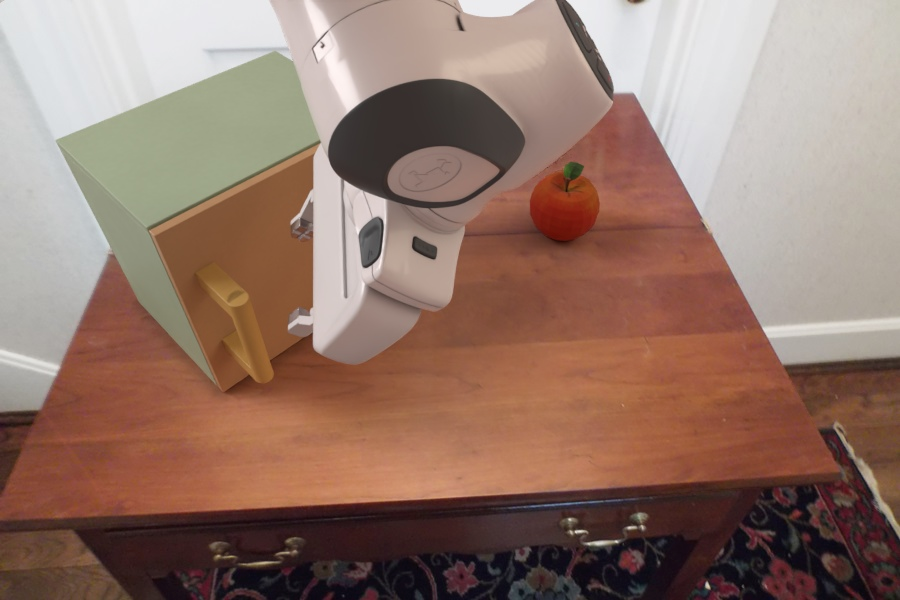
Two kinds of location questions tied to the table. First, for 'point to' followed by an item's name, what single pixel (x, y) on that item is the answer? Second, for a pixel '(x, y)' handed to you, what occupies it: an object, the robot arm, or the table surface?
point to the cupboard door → (243, 269)
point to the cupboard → (185, 167)
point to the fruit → (564, 204)
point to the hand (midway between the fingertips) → (296, 278)
